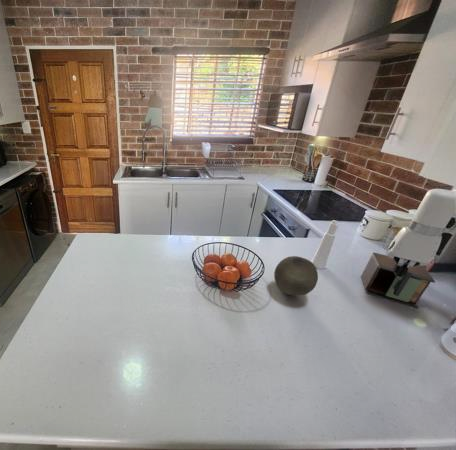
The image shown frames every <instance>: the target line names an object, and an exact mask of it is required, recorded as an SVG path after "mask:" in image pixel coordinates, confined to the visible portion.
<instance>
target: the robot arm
mask: <svg viewBox="0 0 456 450" xmlns="http://www.w3.org/2000/svg"><path fill="white" fill-rule="evenodd" d="M452 218H455V219H456V188H454V189H452V190H450V189H444V188H432V189H429V190H427V192H426V193H425V195H424V196H423V199H422V200H421V202H420V204H419V206H418V207H417V209H416V211H415V213H414V214H413V216H412V218H411V220H410V222H409V224H408V225H407V226H403V227H402V228H400V230H399V231H398V232H397V234H395V237H393V239H392V241H391V242H390V244H389V246H388V250H387V252H386V253H385V255H386V256H388V257H390V258H392V259H394V260H395V261H396V265H395V266H394V268H393V272H394V274H395V276H399V277H402V276H403V274H404V275H405V274H406V272H407V271H408V269H409V268H412V267H414V266H417V265H422V266H428V264H429V262H431V261H432V259H433V258H435V256H436V254H437V252H438V250H439V248H440V246H441V243H442V239H443V236H442V235H443V234H444V233H445V234H449V233H450V231H451V229H450V228H447V226H448V224H449V222H450V221H451V220H452ZM404 260H406V261H405V263H404Z"/></svg>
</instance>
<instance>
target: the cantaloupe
mask: <svg viewBox="0 0 456 450" xmlns="http://www.w3.org/2000/svg"><path fill="white" fill-rule="evenodd" d="M311 261H312V260H310V259H308V258H304V257H301V256H298V255H297V256H296V255H292V256H287V257H285V258H283V259H282V260H280V261H279V262H278V264H277V265H276V267H275V268H274V272H273V273H274V274H273V277H274V282H275V285H276V287H277V288H278V289H279V290H280V291H281V292H282V293H284V294H285V295H289V296H297V297H301V296H306V295H308V294H309V293H311V292H312V291H313V290H314V289H315V288H316V285H317V284H318V279H319V275H318V270H317V269H318V268H316V267H315V265H314V264H313V263H312V262H311Z"/></svg>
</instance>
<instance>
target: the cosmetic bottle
mask: <svg viewBox="0 0 456 450" xmlns="http://www.w3.org/2000/svg"><path fill="white" fill-rule="evenodd" d="M339 223H340V222H339V220H335V219H333V220H331V222H330V224H329V226H328V229H327V231H325V233H324V235H323V237H322V239H321V241H320V243H319V246H318V248H317V250H316V252H315V254H314V255H313V257H312V259H311V260H310V261H311V262H312V263H313V264H314V265H315V267H316V269H319V270H324V269H326V268H327V262H328V259H329V255H330V253H331V249H332V248H333V245H334V242H335V239H336V232H337V229H338V227H339Z"/></svg>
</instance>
